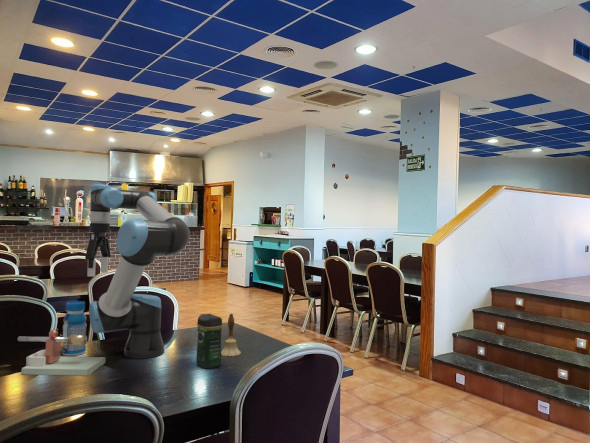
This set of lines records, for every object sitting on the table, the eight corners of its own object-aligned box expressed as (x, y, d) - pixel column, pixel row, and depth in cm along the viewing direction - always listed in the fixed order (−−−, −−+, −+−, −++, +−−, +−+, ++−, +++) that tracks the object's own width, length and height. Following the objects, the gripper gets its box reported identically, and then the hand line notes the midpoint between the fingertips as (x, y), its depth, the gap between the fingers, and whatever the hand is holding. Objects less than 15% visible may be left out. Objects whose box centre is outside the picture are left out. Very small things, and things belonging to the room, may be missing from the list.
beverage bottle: (75, 357, 164) (77, 304, 165) (56, 355, 166) (58, 303, 166) (90, 351, 173) (92, 301, 173) (72, 349, 174) (73, 300, 175)
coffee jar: (224, 366, 157) (225, 315, 158) (204, 370, 153) (205, 317, 153) (212, 359, 165) (213, 311, 166) (193, 363, 160) (194, 313, 161)
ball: (43, 347, 153) (38, 357, 153) (36, 350, 149) (31, 360, 149) (53, 351, 153) (48, 362, 153) (47, 355, 149) (42, 365, 149)
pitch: (105, 362, 159) (105, 349, 159) (87, 375, 145) (87, 360, 145) (45, 361, 158) (45, 347, 158) (21, 374, 144) (21, 359, 144)
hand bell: (216, 355, 172) (217, 314, 172) (227, 349, 179) (228, 311, 180) (234, 357, 169) (235, 316, 169) (244, 352, 176) (245, 313, 177)
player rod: (87, 359, 154) (88, 328, 154) (80, 363, 149) (81, 332, 149) (22, 358, 154) (23, 327, 154) (13, 362, 149) (14, 330, 149)
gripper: (102, 222, 189) (100, 270, 188) (77, 222, 164) (75, 277, 164) (119, 222, 189) (117, 271, 189) (97, 222, 164) (95, 278, 164)
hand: (97, 274), depth 176 cm, fingers open, 13 cm apart
